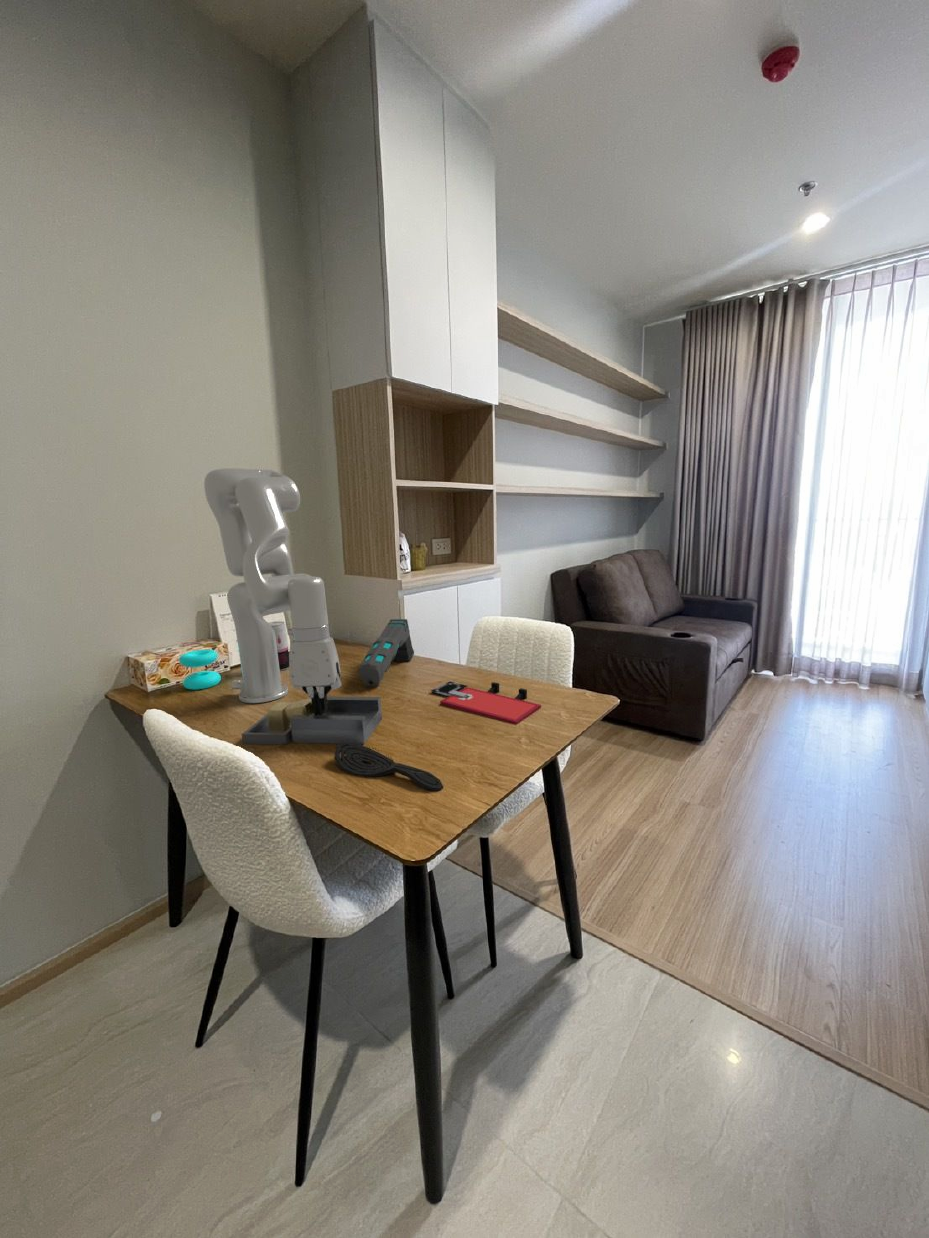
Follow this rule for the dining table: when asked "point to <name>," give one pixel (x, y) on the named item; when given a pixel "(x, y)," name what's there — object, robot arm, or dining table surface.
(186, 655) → the donuts
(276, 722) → the brass chip
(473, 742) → the dining table surface
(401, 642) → the gun
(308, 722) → the slot block
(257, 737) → the chip tray
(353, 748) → the hairbrush
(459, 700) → the red board with handle
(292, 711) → the brass chip
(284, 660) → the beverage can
